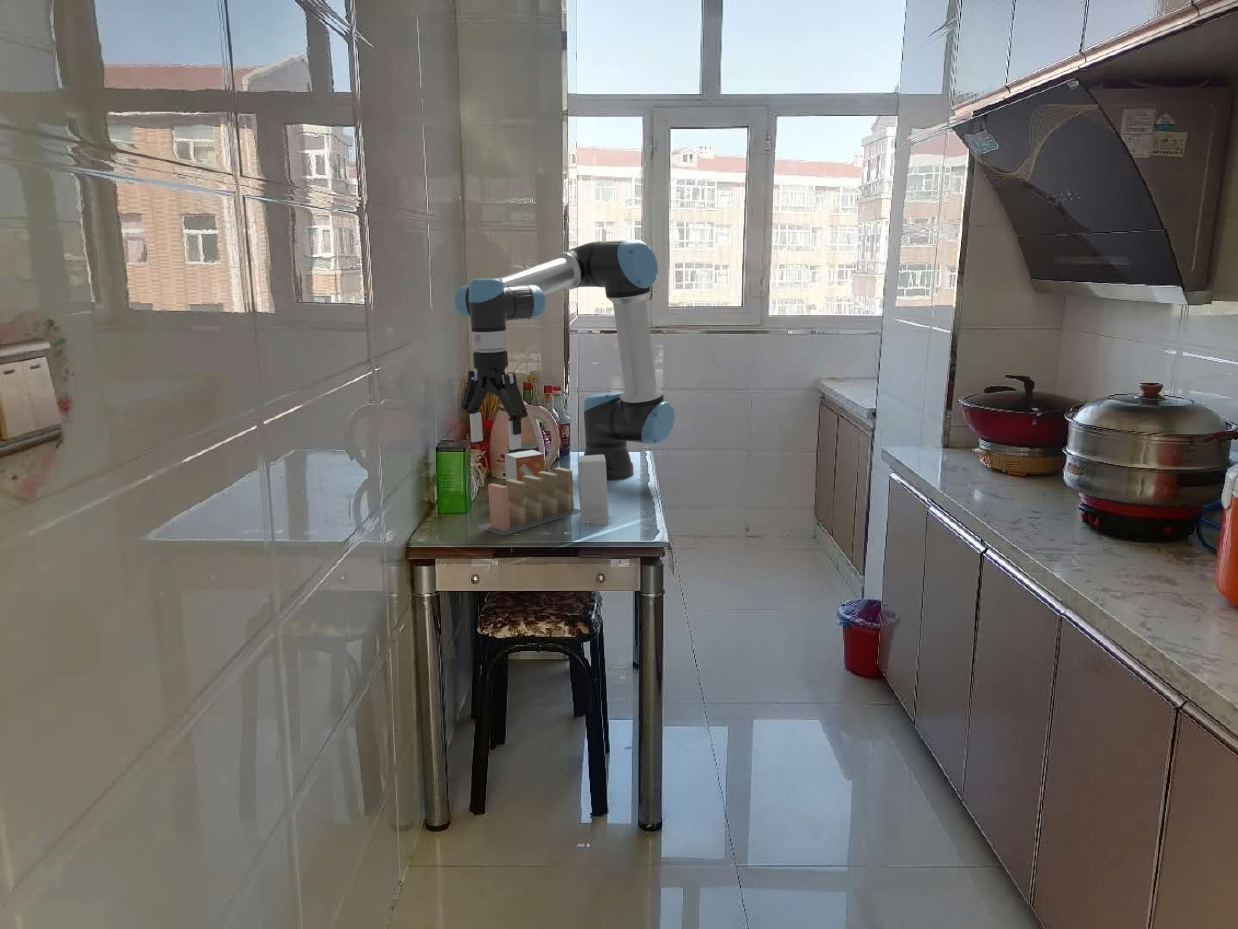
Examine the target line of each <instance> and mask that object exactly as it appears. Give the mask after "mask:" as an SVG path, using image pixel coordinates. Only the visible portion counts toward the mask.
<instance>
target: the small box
mask: <svg viewBox="0 0 1238 929" xmlns="http://www.w3.org/2000/svg"><path fill="white" fill-rule="evenodd" d="M504 464H505V466H504V467H505V480H509V479H512V480H517V481H521V482H522V476H525V475H529V476H534V477H538V472H541V471H545V472H546V470H545V453H543V452H540V451H539V452H538V451H535V450H529V451H521V452H515V453H509V454H508V453H505V454H504Z"/></svg>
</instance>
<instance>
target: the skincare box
mask: <svg viewBox="0 0 1238 929" xmlns="http://www.w3.org/2000/svg"><path fill="white" fill-rule="evenodd" d="M577 472H578V473H577V478H578V480H577V481H578V492H579V493H578V494H579V495H578V496H579V510H580V522H581V526H582V527H591V526H592V527H593V526H595V527H596V526H608V525H609V526H610V524H609V523H610V521H609V520H610V519H609V518H610V517H609V506H608V505H609V504H608V502H609V501H608V480H607V476H606V460H605V456H604V454H603V455H588V456H584V455H578V456H577Z"/></svg>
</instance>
